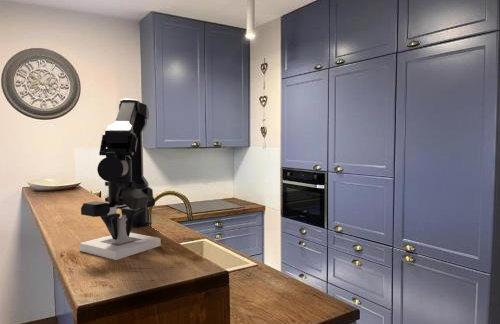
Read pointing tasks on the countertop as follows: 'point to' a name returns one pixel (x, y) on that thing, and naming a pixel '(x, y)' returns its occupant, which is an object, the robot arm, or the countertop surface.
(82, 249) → the socket block
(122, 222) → the rook chess piece
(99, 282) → the countertop surface
